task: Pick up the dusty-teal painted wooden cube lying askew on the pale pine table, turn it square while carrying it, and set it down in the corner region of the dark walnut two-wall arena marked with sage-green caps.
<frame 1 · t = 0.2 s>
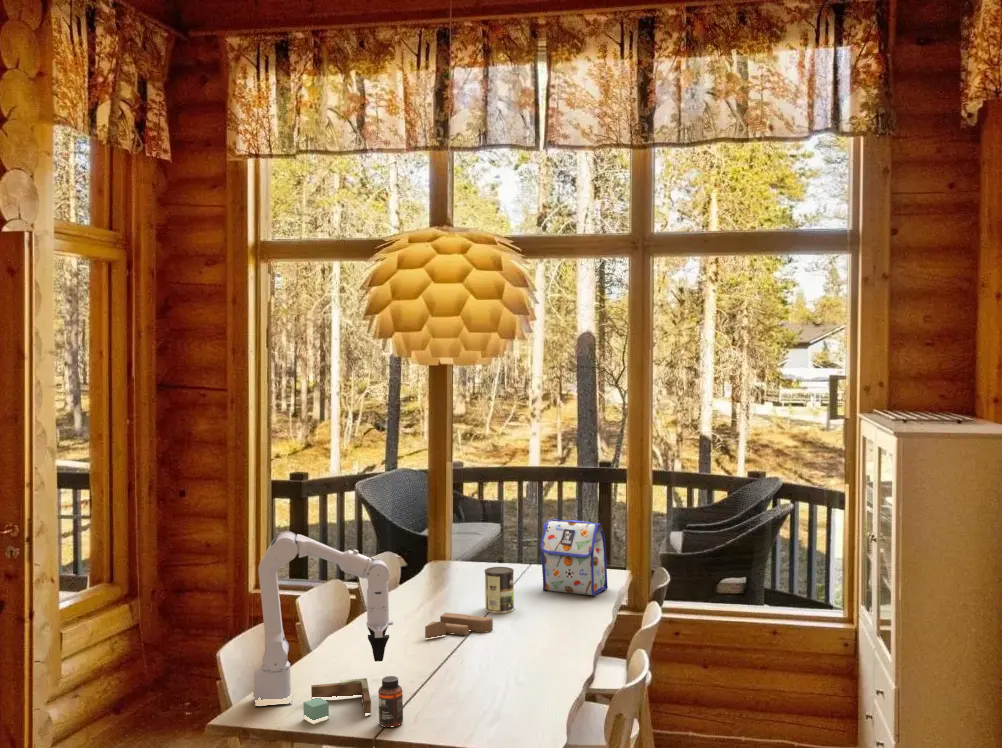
hand: (378, 656, 244), 10 cm above the table, tool pointing down, fingers open, 7 cm apart
teal cube: (316, 720, 227), on the table
supplement bottle: (391, 724, 224), on the table
coffee can: (499, 609, 321), on the table
corner arena: (361, 697, 241), on the table
wooden block set: (458, 636, 293), on the table
lunch bag: (573, 590, 345), on the table
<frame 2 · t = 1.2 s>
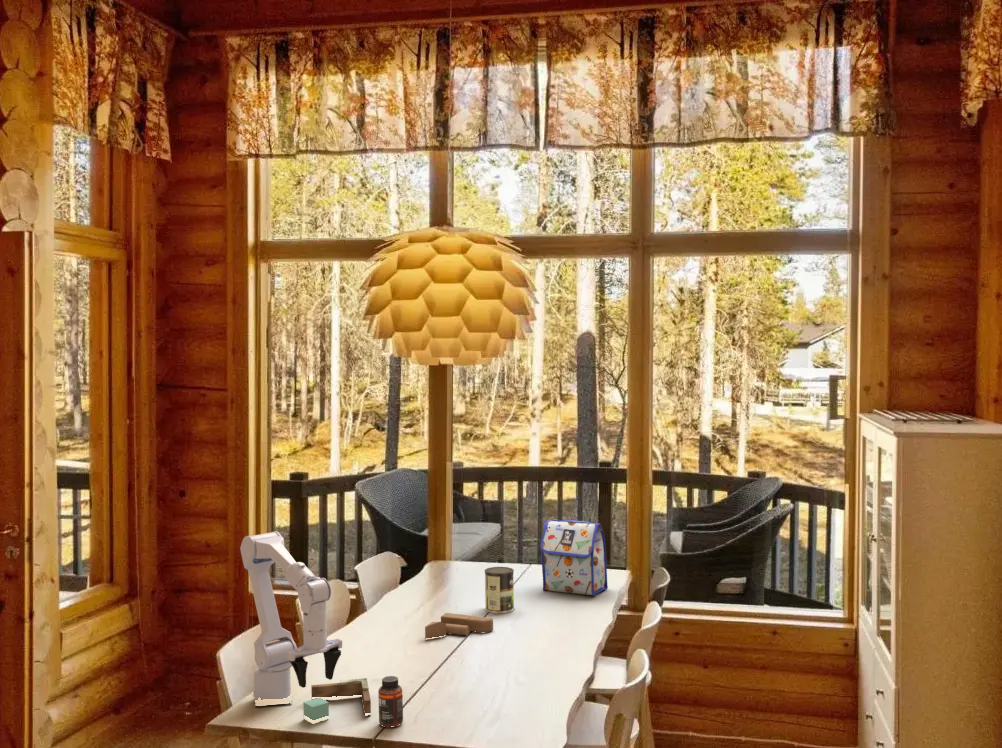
hand: (315, 682, 227), 9 cm above the table, tool pointing down, fingers open, 7 cm apart
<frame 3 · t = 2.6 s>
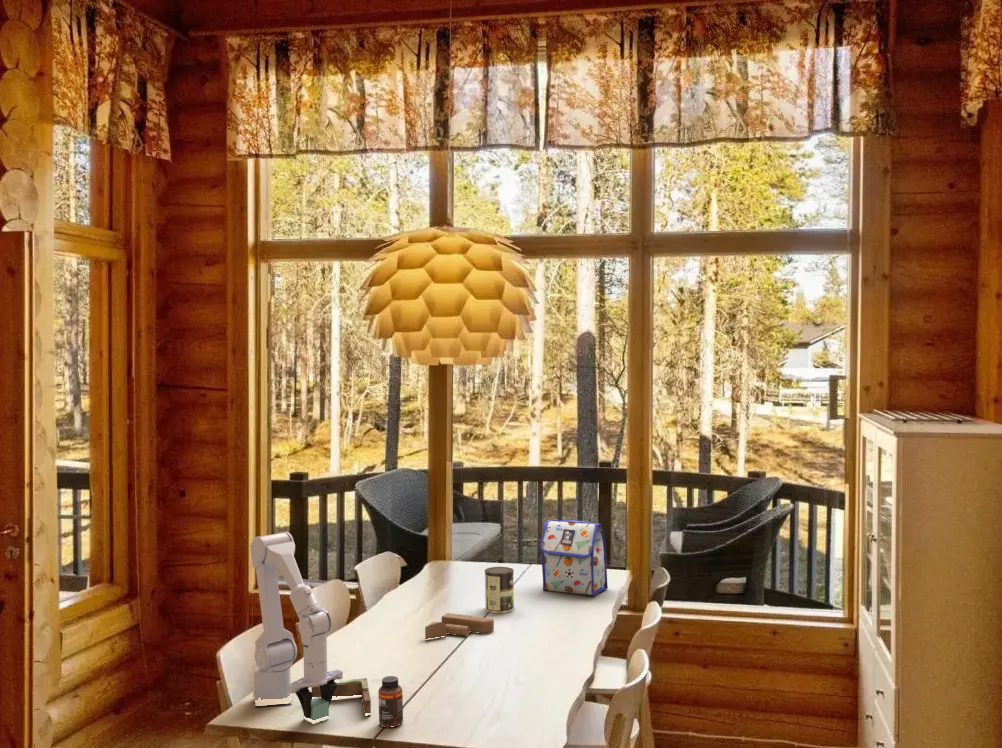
hand: (316, 713, 227), 1 cm above the table, tool pointing down, fingers closed on teal cube, 4 cm apart
teal cube: (316, 719, 227), on the table, touching gripper
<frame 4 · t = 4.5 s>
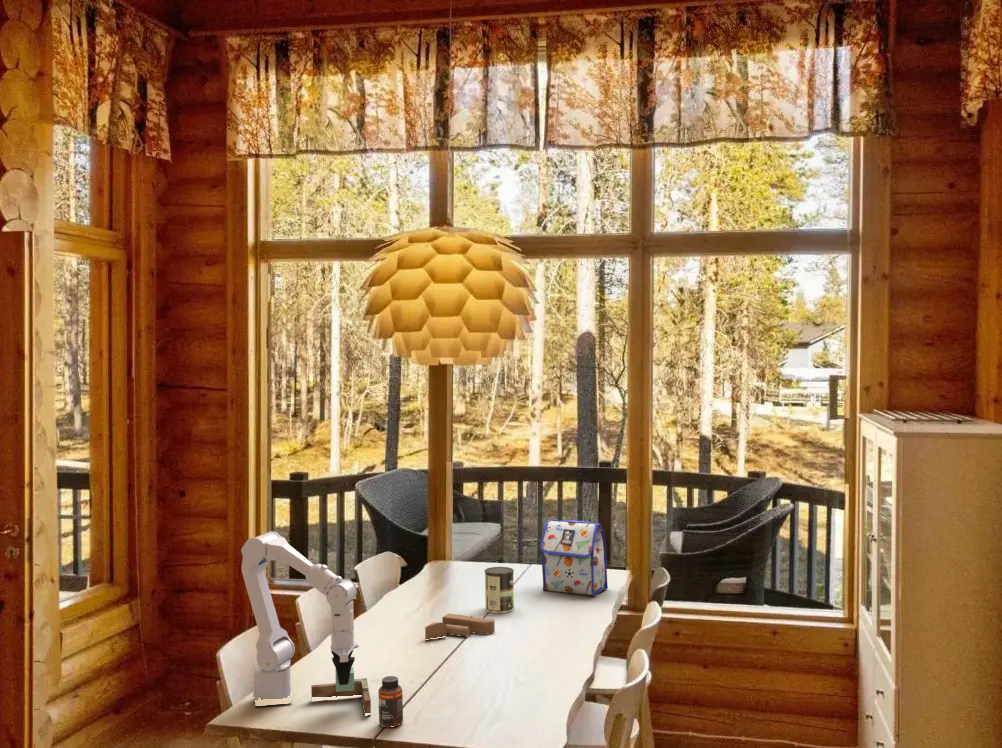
hand: (343, 680, 233), 7 cm above the table, tool pointing down, fingers closed on teal cube, 4 cm apart
teal cube: (344, 687, 234), point 5 cm above the table, touching gripper
when the fingers open (3 cm above the table, at t = 5.6 s): teal cube drops 1 cm, on the table.
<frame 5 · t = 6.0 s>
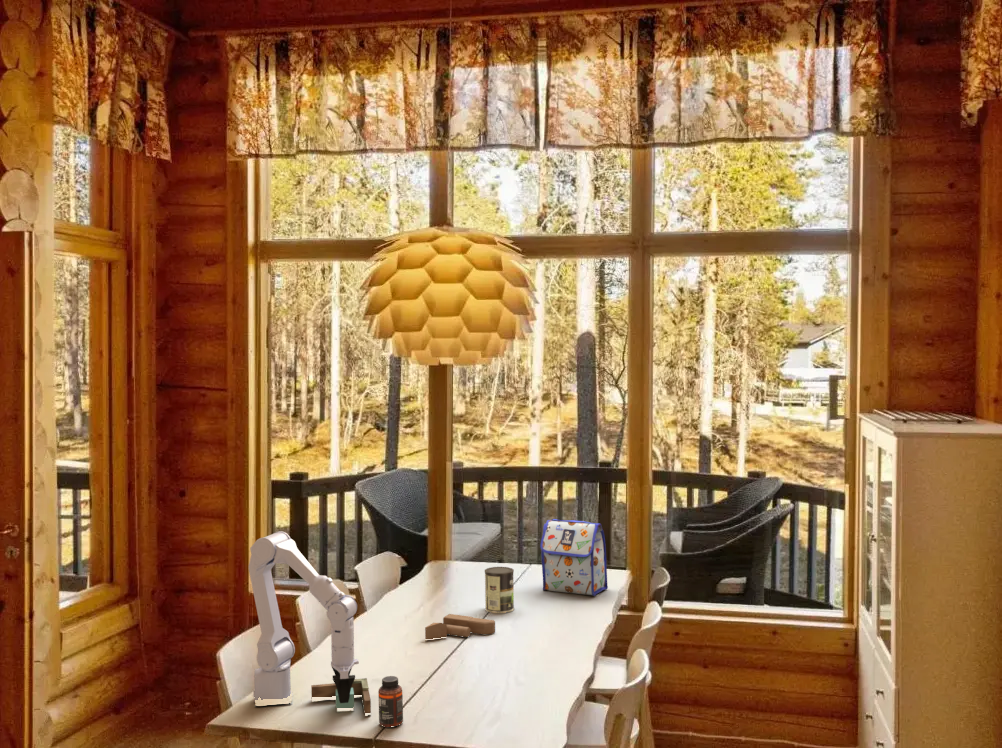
hand: (343, 696, 234), 3 cm above the table, tool pointing down, fingers open, 7 cm apart
teal cube: (344, 708, 234), on the table
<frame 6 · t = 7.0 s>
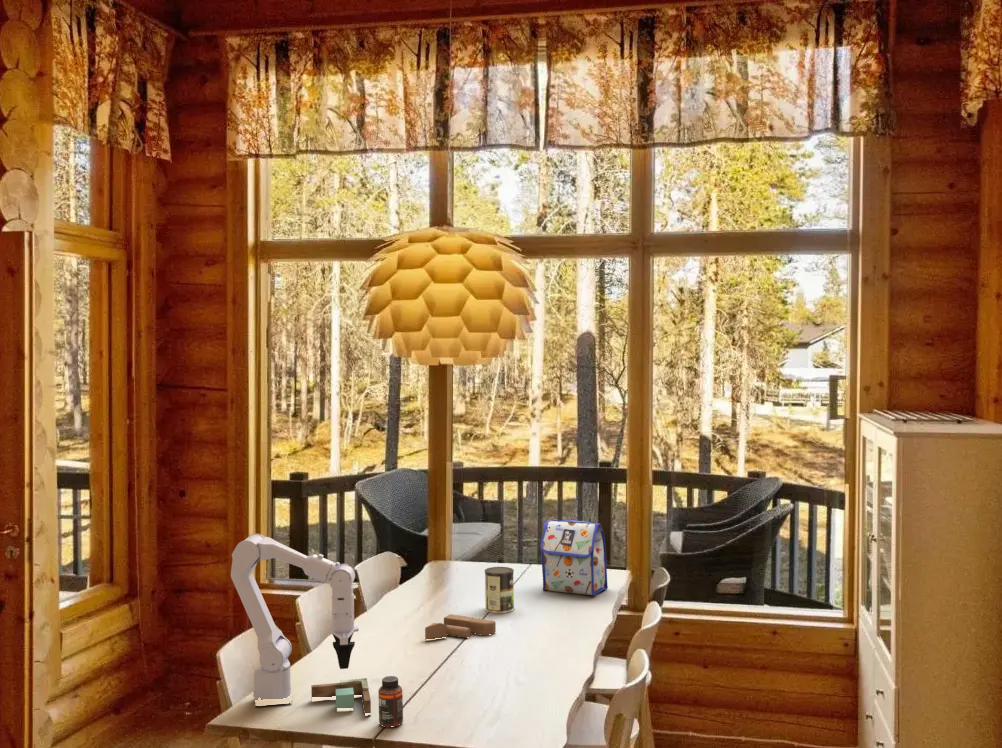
hand: (343, 663, 239), 10 cm above the table, tool pointing down, fingers open, 7 cm apart
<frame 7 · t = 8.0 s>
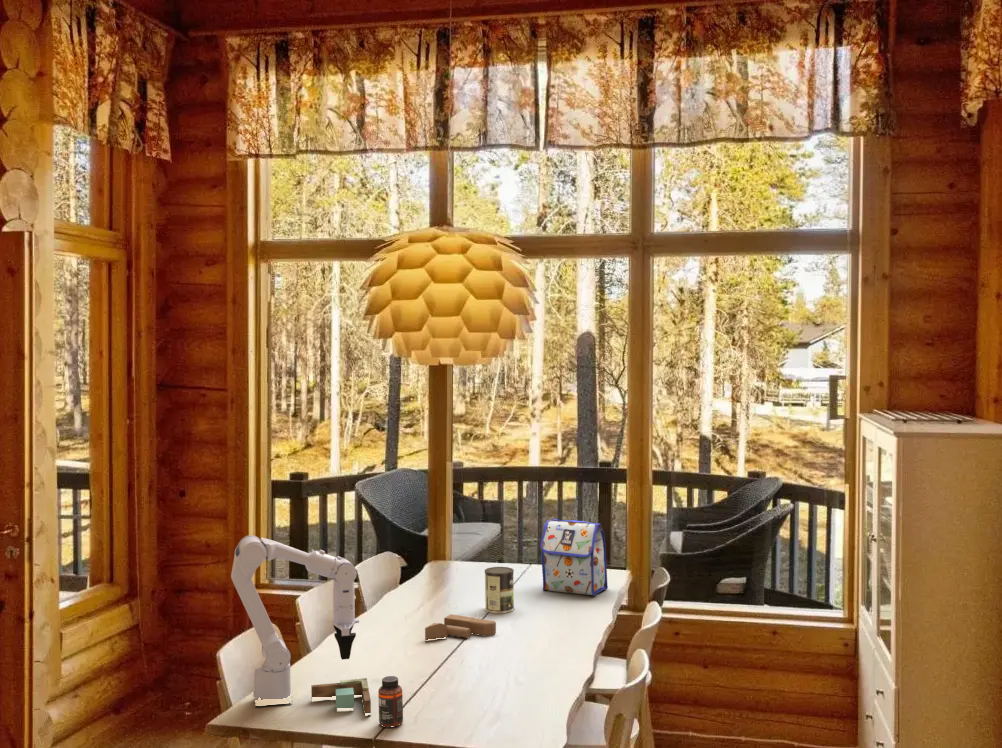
hand: (344, 654, 246), 10 cm above the table, tool pointing down, fingers open, 7 cm apart
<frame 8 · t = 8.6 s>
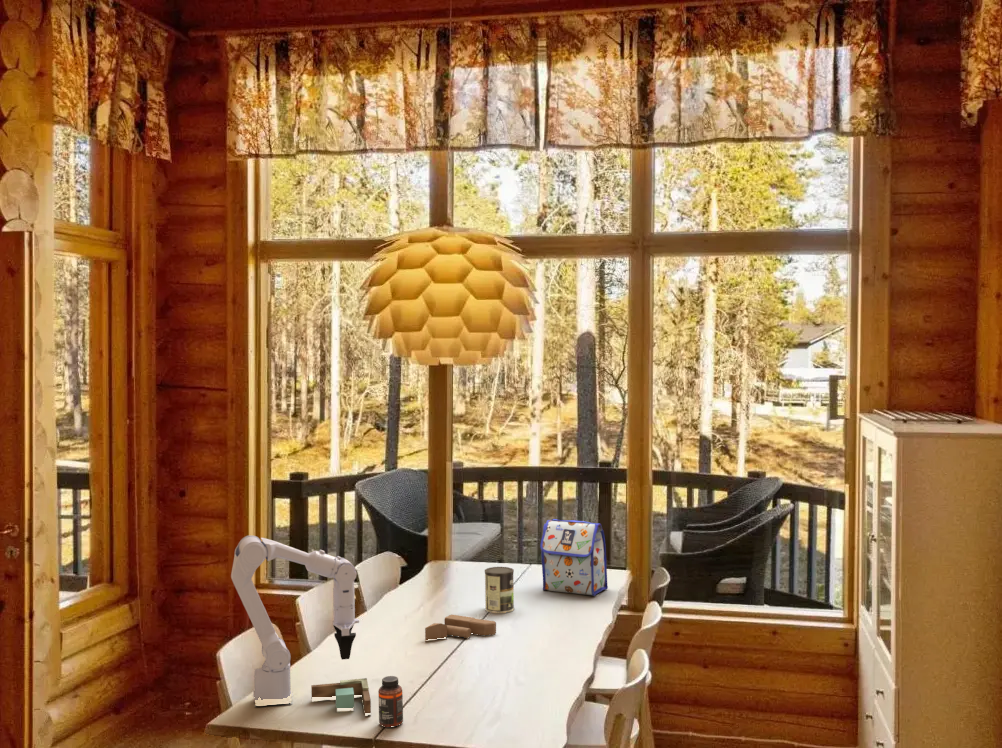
hand: (344, 654, 246), 10 cm above the table, tool pointing down, fingers open, 7 cm apart
at the end: teal cube inside the target area (0.6 cm from its centre), on the table; teal cube tilted 0°; the gripper is holding nothing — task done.
